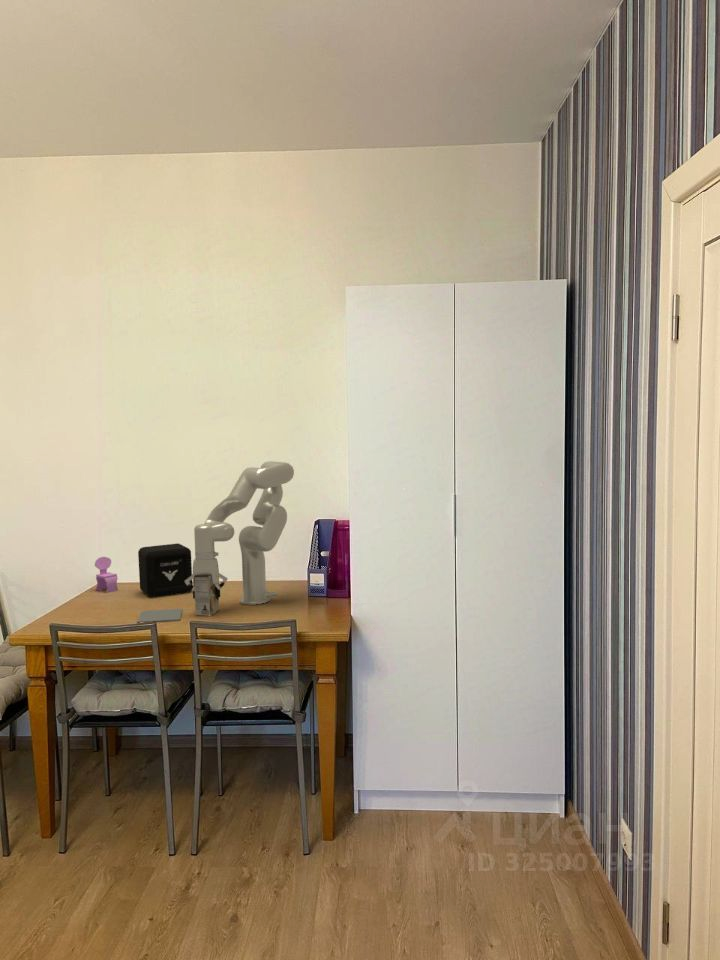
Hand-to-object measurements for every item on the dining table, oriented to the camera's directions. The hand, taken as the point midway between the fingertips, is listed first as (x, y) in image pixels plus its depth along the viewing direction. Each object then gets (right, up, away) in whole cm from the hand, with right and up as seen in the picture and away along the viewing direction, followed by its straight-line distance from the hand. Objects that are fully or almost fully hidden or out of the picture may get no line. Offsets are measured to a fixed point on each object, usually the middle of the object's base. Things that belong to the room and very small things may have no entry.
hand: (206, 599), depth 313 cm
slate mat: (-18, -6, -3) cm, 19 cm away
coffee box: (0, -6, +1) cm, 6 cm away
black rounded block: (-25, -3, +36) cm, 44 cm away
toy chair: (-53, -3, +42) cm, 67 cm away
